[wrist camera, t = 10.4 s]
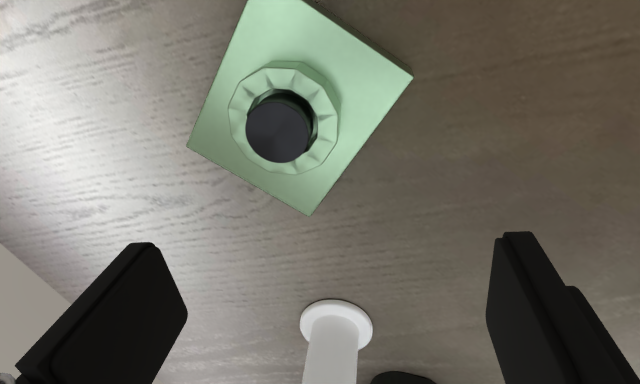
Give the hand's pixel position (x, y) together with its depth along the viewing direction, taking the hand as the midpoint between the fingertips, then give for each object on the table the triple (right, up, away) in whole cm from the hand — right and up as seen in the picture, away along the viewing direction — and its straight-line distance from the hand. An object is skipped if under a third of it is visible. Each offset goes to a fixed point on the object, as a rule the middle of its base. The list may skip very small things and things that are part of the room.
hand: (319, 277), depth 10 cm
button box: (-2, +8, +14) cm, 17 cm away
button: (-2, +6, +11) cm, 13 cm away
